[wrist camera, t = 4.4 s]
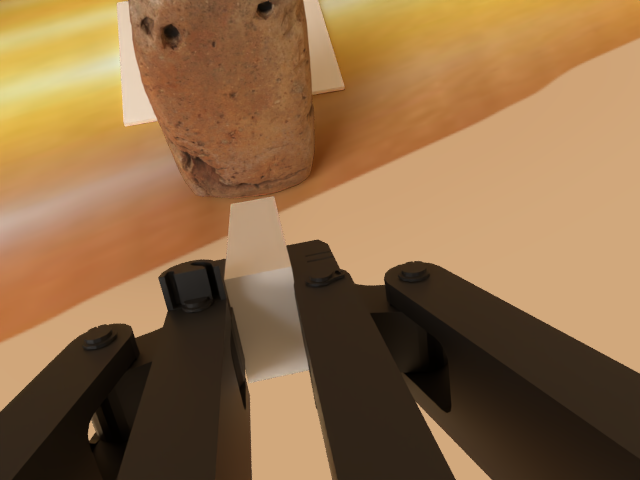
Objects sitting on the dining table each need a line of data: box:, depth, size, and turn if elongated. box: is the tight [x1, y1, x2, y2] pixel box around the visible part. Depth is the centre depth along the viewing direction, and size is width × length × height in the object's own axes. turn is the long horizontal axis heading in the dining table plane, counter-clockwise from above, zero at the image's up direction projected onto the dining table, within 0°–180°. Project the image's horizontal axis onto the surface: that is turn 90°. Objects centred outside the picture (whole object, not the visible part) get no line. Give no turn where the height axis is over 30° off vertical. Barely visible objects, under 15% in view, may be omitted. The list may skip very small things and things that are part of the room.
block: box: [128, 0, 315, 198], centre depth 33 cm, size 11×8×20 cm
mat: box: [117, 0, 345, 126], centre depth 48 cm, size 20×16×1 cm
